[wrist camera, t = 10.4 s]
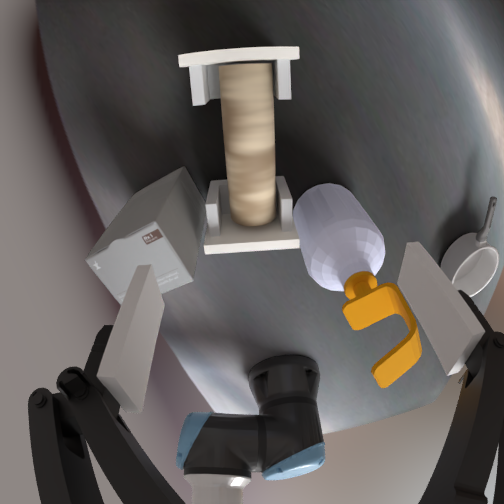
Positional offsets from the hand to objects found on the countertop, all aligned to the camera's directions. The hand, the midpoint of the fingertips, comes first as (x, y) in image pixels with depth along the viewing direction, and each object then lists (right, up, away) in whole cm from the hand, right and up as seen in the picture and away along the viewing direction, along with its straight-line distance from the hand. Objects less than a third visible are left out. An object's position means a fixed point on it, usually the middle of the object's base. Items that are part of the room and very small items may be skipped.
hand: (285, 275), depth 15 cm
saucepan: (+35, +4, +28) cm, 45 cm away
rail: (-3, +12, +13) cm, 18 cm away
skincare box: (-12, +8, +22) cm, 27 cm away
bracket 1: (-3, +21, +14) cm, 25 cm away
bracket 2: (-2, +9, +22) cm, 24 cm away
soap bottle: (+8, +6, +25) cm, 27 cm away
